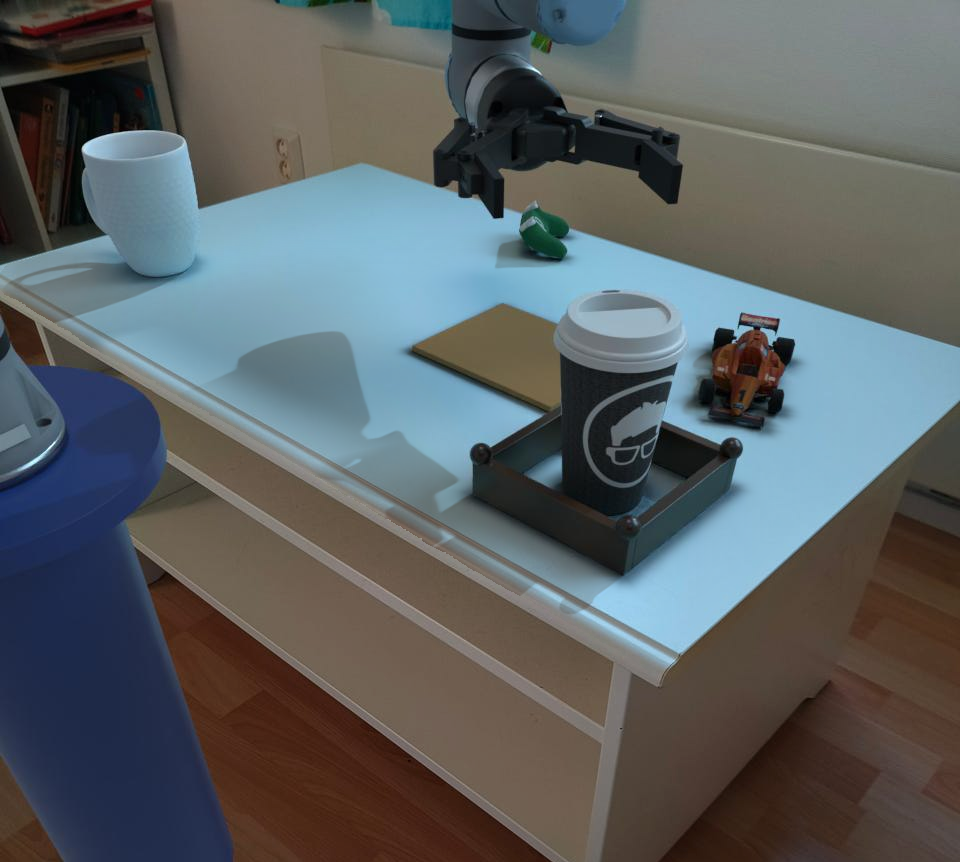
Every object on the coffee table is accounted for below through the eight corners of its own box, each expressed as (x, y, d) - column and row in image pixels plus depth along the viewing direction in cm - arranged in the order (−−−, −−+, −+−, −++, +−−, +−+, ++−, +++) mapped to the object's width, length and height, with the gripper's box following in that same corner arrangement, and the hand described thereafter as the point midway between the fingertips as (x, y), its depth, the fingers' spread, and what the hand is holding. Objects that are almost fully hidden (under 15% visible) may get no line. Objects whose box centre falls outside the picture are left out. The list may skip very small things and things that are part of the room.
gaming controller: (549, 247, 115) (517, 212, 112) (572, 226, 113) (540, 189, 110) (546, 276, 108) (512, 238, 105) (569, 254, 106) (535, 215, 103)
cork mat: (411, 351, 90) (411, 345, 89) (502, 307, 97) (502, 302, 97) (550, 412, 81) (550, 406, 81) (638, 360, 89) (638, 354, 88)
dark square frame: (465, 495, 72) (464, 444, 68) (583, 421, 80) (588, 372, 77) (625, 580, 64) (633, 528, 61) (737, 488, 73) (749, 438, 69)
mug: (69, 267, 104) (31, 145, 95) (135, 237, 111) (105, 120, 102) (168, 292, 100) (137, 165, 90) (230, 258, 107) (207, 138, 97)
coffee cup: (665, 467, 75) (697, 291, 64) (655, 535, 68) (688, 350, 58) (554, 453, 76) (567, 278, 66) (533, 517, 70) (544, 334, 59)
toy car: (690, 418, 81) (699, 373, 78) (714, 340, 92) (723, 299, 89) (778, 433, 79) (790, 388, 76) (791, 352, 90) (802, 310, 87)
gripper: (641, 151, 85) (735, 230, 70) (382, 169, 81) (424, 258, 66) (651, 58, 79) (756, 123, 65) (375, 74, 75) (419, 147, 61)
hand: (588, 192), depth 65 cm, fingers open, 13 cm apart
